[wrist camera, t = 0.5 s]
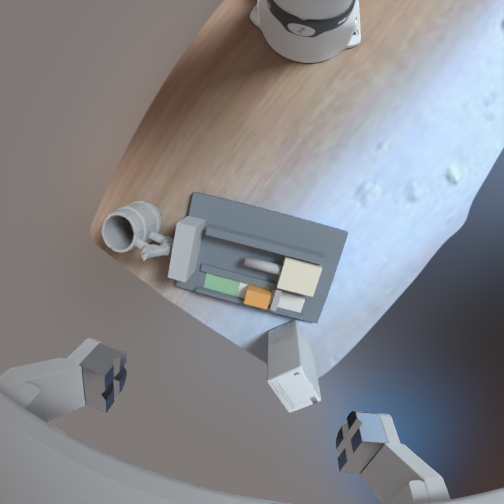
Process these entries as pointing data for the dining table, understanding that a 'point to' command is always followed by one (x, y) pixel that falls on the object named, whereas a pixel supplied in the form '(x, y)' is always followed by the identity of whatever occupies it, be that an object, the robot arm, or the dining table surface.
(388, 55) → the dining table surface
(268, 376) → the skincare box
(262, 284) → the base
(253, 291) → the orange rectangular block
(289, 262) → the cream block with rods
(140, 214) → the mug
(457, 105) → the dining table surface
